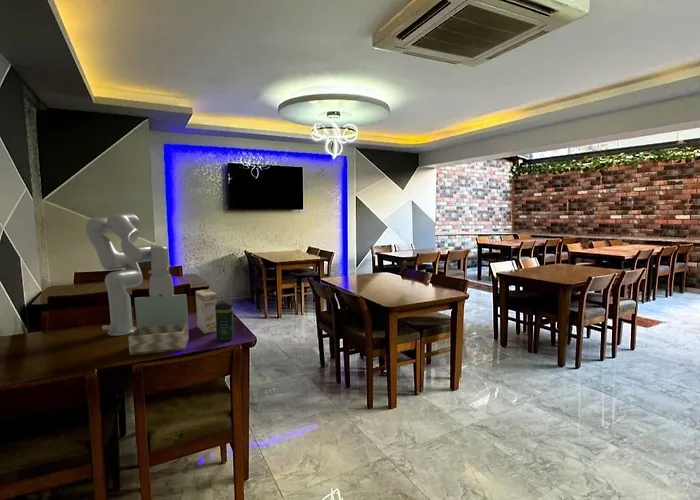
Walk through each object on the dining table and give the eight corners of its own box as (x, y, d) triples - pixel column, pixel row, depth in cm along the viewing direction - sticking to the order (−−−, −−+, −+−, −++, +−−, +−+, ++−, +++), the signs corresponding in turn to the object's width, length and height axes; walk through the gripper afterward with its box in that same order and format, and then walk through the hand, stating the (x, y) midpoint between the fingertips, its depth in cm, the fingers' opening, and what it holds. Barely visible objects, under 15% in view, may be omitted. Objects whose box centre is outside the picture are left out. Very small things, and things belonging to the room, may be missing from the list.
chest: (129, 355, 171) (128, 337, 170) (138, 344, 185) (137, 327, 184) (184, 349, 177) (183, 332, 176) (188, 339, 190) (187, 323, 189)
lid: (134, 295, 181) (135, 295, 183) (137, 327, 184) (137, 326, 185) (185, 292, 187) (186, 291, 188) (187, 323, 189) (188, 322, 191)
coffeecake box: (218, 331, 203) (216, 293, 201) (204, 333, 199) (202, 295, 197) (210, 324, 215) (208, 288, 213) (197, 326, 211) (194, 290, 209)
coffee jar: (232, 341, 187) (230, 302, 185) (215, 342, 186) (213, 303, 184) (235, 334, 197) (233, 298, 195) (219, 335, 196) (217, 298, 194)
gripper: (141, 274, 181) (144, 314, 183) (176, 272, 185) (179, 311, 186) (145, 272, 188) (147, 310, 190) (179, 270, 192) (181, 307, 194)
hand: (163, 310), depth 188 cm, fingers closed
